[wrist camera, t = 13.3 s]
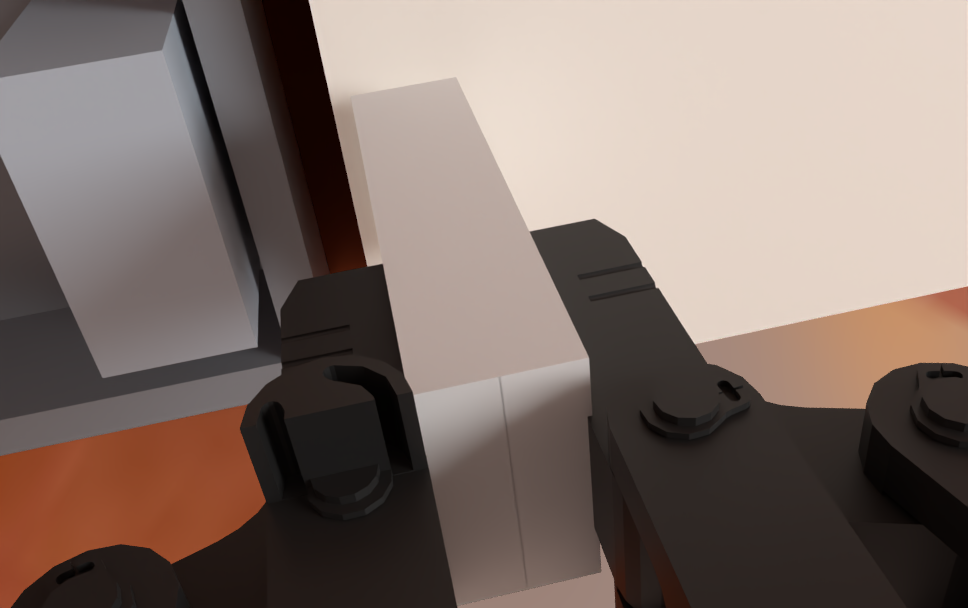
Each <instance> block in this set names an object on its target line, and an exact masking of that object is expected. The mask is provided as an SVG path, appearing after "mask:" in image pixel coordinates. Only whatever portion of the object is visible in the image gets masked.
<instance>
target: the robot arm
mask: <svg viewBox="0 0 968 608" xmlns="http://www.w3.org/2000/svg"><path fill="white" fill-rule="evenodd" d="M351 102H352V107H353V112H354V117H355V122H356V127H357V133H358V138H359V143H360V148H361V153H362V159H363V164H364V169H365V174H366V179H367V184H368V190H369V195H370V200H371V205H372V210H373V215H374V221H375V226H376V231H377V236H378V241H379V247H380V252H381V257H382V262H383V264H378V265H373V266H368V267H363V268H358V269H353V270H348V271H343V272H338V273H333V274H328V275H323V276H318V277H313V278H308V279H303V280H298V281H297V283H296V285H295V286H294V288H293V289H292V291H291V293H290V294H289V296H288V298H287V299H286V301H285V302H284V304H283V306H282V307H281V309H280V317H281V341H282V344H281V364H282V369H281V375H280V376H278V377H277V378H275V379H274V380H272V381H270V382H269V383H267V384H266V385H265V386H264V387H263V388H262V389H261V390H260V392H259V393H258V394H257V395H256V396H255V397H254V398H253V399H252V401H251V402H250V403H249V404H248V405H247V408H246V411H245V414H244V417H243V420H242V423H241V426H240V430H241V433H242V436H243V439H244V441H245V444H246V447H247V450H248V453H249V455H250V458H251V461H252V464H253V466H254V469H255V472H256V475H257V477H258V480H259V483H260V486H261V488H262V491H263V494H264V497H265V499H266V503H265V504H264V505H263V507H262V508H261V509H260V510H259V512H258V513H257V514H256V515H254V516H253V517H252V518H251V519H250V520H249V521H247V522H246V523H245V524H244V525H243V526H242V527H240V528H239V529H238V530H236V531H234V532H233V533H231V534H229V535H228V536H226V537H224V538H223V539H221V540H219V541H218V542H216V543H214V544H212V545H210V546H208V547H206V548H204V549H202V550H200V551H198V552H196V553H193V554H191V555H189V556H187V557H185V558H183V559H181V560H179V561H177V562H175V563H173V564H170V562H169V561H167V560H166V559H164V558H163V557H161V556H160V555H159V554H157V553H156V552H154V551H153V550H151V549H150V548H144V547H137V546H129V545H122V544H120V545H115V546H110V547H104V548H99V549H94V550H89V551H86V552H84V553H82V554H80V555H78V556H76V557H73V558H71V559H69V560H67V561H65V562H63V563H61V564H59V565H56V566H54V567H53V568H52V569H50V570H49V571H48V572H47V573H45V574H44V575H43V576H42V577H40V578H39V579H38V580H37V581H35V582H34V583H33V584H32V585H30V586H29V587H28V588H27V589H25V590H24V591H23V593H22V594H21V595H20V596H19V598H18V599H17V600H16V602H15V603H14V604H13V606H12V607H11V608H457V606H459V605H464V604H467V603H472V602H476V601H480V600H485V599H489V598H493V597H498V596H502V595H506V594H510V593H515V592H519V591H523V590H527V589H532V588H536V587H540V586H544V585H549V584H553V583H557V582H561V581H566V580H570V579H574V578H578V577H583V576H587V575H591V574H595V573H600V572H601V559H600V543H601V545H602V549H603V551H604V554H605V557H606V559H607V562H608V564H609V567H610V569H611V572H612V575H613V577H614V586H615V608H968V367H967V366H962V365H958V364H954V363H918V364H914V365H910V366H906V367H902V368H899V369H895V370H892V371H891V372H890V373H888V374H887V375H885V376H884V377H883V378H881V379H880V380H879V381H877V382H876V383H874V385H873V388H872V390H871V393H870V395H869V398H868V400H867V403H866V409H844V408H804V407H794V406H783V405H777V404H773V403H770V402H766V401H765V400H764V399H763V398H762V396H761V395H760V393H758V392H757V391H756V390H755V389H754V388H753V387H752V386H751V385H750V384H749V383H748V382H747V381H746V380H745V379H744V378H743V377H741V376H739V375H736V374H734V373H732V372H730V371H728V370H726V369H724V368H721V367H719V366H717V365H711V364H707V362H706V361H705V360H704V358H703V356H702V355H701V353H700V352H699V350H698V349H697V347H696V345H695V344H694V342H693V341H692V339H691V338H690V336H689V335H688V333H687V331H686V330H685V328H684V327H683V325H682V324H681V322H680V321H679V319H678V317H677V316H676V314H675V313H674V311H673V310H672V308H671V307H670V305H669V303H668V302H667V300H666V299H665V297H664V296H663V294H662V293H661V291H660V289H659V288H656V286H655V282H654V280H653V279H652V277H651V275H650V274H649V272H648V271H647V269H646V268H645V267H643V266H642V262H641V260H640V258H639V257H638V255H637V254H636V252H635V251H634V249H633V248H632V246H631V244H630V243H629V241H628V240H627V238H626V237H625V236H623V235H622V234H620V233H618V232H617V231H615V230H613V229H612V228H610V227H608V226H606V225H605V224H603V223H601V222H600V221H598V220H596V219H590V220H585V221H580V222H575V223H570V224H565V225H560V226H555V227H550V228H545V229H540V230H534V231H529V230H528V228H527V226H526V223H525V221H524V219H523V217H522V215H521V213H520V211H519V209H518V207H517V204H516V202H515V200H514V198H513V196H512V194H511V192H510V190H509V188H508V185H507V183H506V181H505V179H504V177H503V175H502V173H501V171H500V169H499V166H498V164H497V162H496V160H495V158H494V156H493V154H492V152H491V150H490V147H489V145H488V143H487V141H486V139H485V137H484V135H483V133H482V131H481V128H480V126H479V124H478V122H477V120H476V118H475V116H474V114H473V112H472V109H471V107H470V105H469V103H468V101H467V99H466V97H465V95H464V93H463V90H462V88H461V86H460V84H459V82H458V80H457V78H456V77H453V78H448V79H442V80H437V81H431V82H425V83H420V84H414V85H409V86H403V87H398V88H392V89H387V90H381V91H375V92H370V93H364V94H359V95H353V96H351Z"/></svg>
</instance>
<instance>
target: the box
mask: <svg viewBox="0 0 968 608" xmlns="http://www.w3.org/2000/svg"><path fill="white" fill-rule="evenodd" d="M30 1H31V0H0V40H1V39H2V38H3V37H4V35H5V34H6V33H7V31H8V30H9V29H10V27H11V26H12V25H13V24H14V22H15V21H16V20H17V18H18V17H19V16H20V14H21V13H22V12H23V11H24V9H25V8H26V7H27V5H28V4H29V3H30ZM182 1H183V4H184V8H185V11H186V14H187V18H188V21H189V24H190V28H191V31H192V34H193V38H194V41H195V44H196V48H197V51H198V54H199V58H200V61H201V64H202V68H203V71H204V74H205V78H206V81H207V84H208V88H209V91H210V94H211V98H212V101H213V104H214V108H215V111H216V114H217V118H218V121H219V124H220V128H221V131H222V134H223V138H224V141H225V144H226V148H227V151H228V154H229V158H230V161H231V164H232V168H233V171H234V174H235V178H236V181H237V184H238V188H239V191H240V194H241V198H242V201H243V204H244V208H245V211H246V214H247V218H248V221H249V224H250V228H251V231H252V234H253V238H254V241H255V244H256V248H257V251H258V254H259V303H258V347H255V348H250V349H245V350H240V351H235V352H230V353H225V354H220V355H215V356H210V357H205V358H200V359H195V360H190V361H185V362H180V363H175V364H170V365H166V366H161V367H156V368H151V369H146V370H141V371H136V372H131V373H126V374H121V375H116V376H111V377H106V378H102V376H101V374H100V372H99V369H98V367H97V365H96V363H95V361H94V358H93V356H92V354H91V352H90V350H89V348H88V345H87V343H86V341H85V339H84V337H83V334H82V332H81V330H80V328H79V326H78V324H77V321H76V319H75V317H74V315H73V313H72V310H71V308H70V306H69V304H68V302H67V300H66V297H65V295H64V293H63V291H62V289H61V286H60V284H59V282H58V280H57V278H56V275H55V273H54V271H53V269H52V267H51V265H50V262H49V260H48V258H47V256H46V254H45V251H44V249H43V247H42V245H41V243H40V241H39V238H38V236H37V234H36V232H35V230H34V227H33V225H32V223H31V221H30V219H29V217H28V214H27V212H26V210H25V208H24V206H23V203H22V201H21V199H20V197H19V195H18V193H17V190H16V188H15V186H14V184H13V182H12V179H11V177H10V175H9V173H8V171H7V169H6V166H5V164H4V162H3V160H2V158H1V155H0V456H1V455H6V454H11V453H15V452H20V451H25V450H30V449H35V448H39V447H44V446H49V445H54V444H59V443H63V442H68V441H73V440H78V439H83V438H87V437H92V436H97V435H102V434H107V433H111V432H116V431H121V430H126V429H131V428H135V427H140V426H145V425H150V424H155V423H159V422H164V421H169V420H174V419H179V418H183V417H188V416H193V415H198V414H202V413H207V412H212V411H217V410H222V409H226V408H231V407H236V406H241V405H246V404H249V403H250V402H251V401H252V399H253V398H254V397H255V396H256V395H257V394H258V393H259V392H260V390H261V389H262V388H263V387H264V386H265V385H266V384H267V383H269V382H270V381H272V380H274V379H275V378H277V377H278V376H280V375H281V369H282V364H281V344H282V341H281V317H280V309H281V307H282V306H283V304H284V302H285V301H286V299H287V298H288V296H289V294H290V293H291V291H292V289H293V288H294V286H295V285H296V283H297V281H298V280H303V279H308V278H313V277H318V276H323V275H328V274H330V272H329V268H328V264H327V260H326V256H325V252H324V248H323V244H322V240H321V236H320V232H319V228H318V224H317V220H316V216H315V212H314V208H313V204H312V200H311V196H310V192H309V188H308V184H307V180H306V176H305V172H304V168H303V164H302V160H301V156H300V152H299V148H298V144H297V140H296V135H295V131H294V127H293V123H292V119H291V115H290V111H289V107H288V103H287V99H286V95H285V91H284V87H283V83H282V79H281V75H280V71H279V67H278V63H277V59H276V55H275V51H274V47H273V43H272V39H271V35H270V31H269V27H268V23H267V19H266V15H265V11H264V7H263V3H262V0H182Z"/></svg>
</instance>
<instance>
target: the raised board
mask: <svg viewBox="0 0 968 608" xmlns="http://www.w3.org/2000/svg"><path fill="white" fill-rule="evenodd" d="M309 4H310V8H311V13H312V17H313V22H314V26H315V31H316V35H317V40H318V45H319V49H320V54H321V58H322V63H323V67H324V72H325V76H326V81H327V85H328V90H329V95H330V99H331V104H332V108H333V113H334V117H335V122H336V126H337V131H338V135H339V140H340V145H341V149H342V154H343V158H344V163H345V167H346V172H347V176H348V181H349V185H350V190H351V195H352V199H353V204H354V208H355V213H356V217H357V222H358V226H359V231H360V235H361V240H362V245H363V249H364V254H365V258H366V263H367V267H368V266H373V265H378V264H383V262H382V257H381V252H380V247H379V241H378V236H377V231H376V226H375V221H374V215H373V210H372V205H371V200H370V195H369V190H368V184H367V179H366V174H365V169H364V164H363V159H362V153H361V148H360V143H359V138H358V133H357V127H356V122H355V117H354V112H353V107H352V102H351V96H353V95H359V94H364V93H370V92H375V91H381V90H387V89H392V88H398V87H403V86H409V85H414V84H420V83H425V82H431V81H437V80H442V79H448V78H453V77H456V78H457V80H458V82H459V84H460V86H461V88H462V90H463V93H464V95H465V97H466V99H467V101H468V103H469V105H470V107H471V109H472V112H473V114H474V116H475V118H476V120H477V122H478V124H479V126H480V128H481V131H482V133H483V135H484V137H485V139H486V141H487V143H488V145H489V147H490V150H491V152H492V154H493V156H494V158H495V160H496V162H497V164H498V166H499V169H500V171H501V173H502V175H503V177H504V179H505V181H506V183H507V185H508V188H509V190H510V192H511V194H512V196H513V198H514V200H515V202H516V204H517V207H518V209H519V211H520V213H521V215H522V217H523V219H524V221H525V223H526V226H527V228H528V230H529V231H534V230H540V229H545V228H550V227H555V226H560V225H565V224H570V223H575V222H580V221H585V220H590V219H596V220H598V221H600V222H601V223H603V224H605V225H606V226H608V227H610V228H612V229H613V230H615V231H617V232H618V233H620V234H622V235H623V236H625V237H626V238H627V240H628V241H629V243H630V244H631V246H632V248H633V249H634V251H635V252H636V254H637V255H638V257H639V258H640V260H641V262H642V266H643V267H645V268H646V269H647V271H648V272H649V274H650V275H651V277H652V279H653V280H654V282H655V286H656V288H659V289H660V291H661V293H662V294H663V296H664V297H665V299H666V300H667V302H668V303H669V305H670V307H671V308H672V310H673V311H674V313H675V314H676V316H677V317H678V319H679V321H680V322H681V324H682V325H683V327H684V328H685V330H686V331H687V333H688V335H689V336H690V338H691V339H692V341H693V342H694V344H697V343H703V342H707V341H712V340H717V339H721V338H726V337H731V336H736V335H740V334H745V333H750V332H754V331H759V330H764V329H768V328H773V327H778V326H782V325H787V324H792V323H797V322H802V321H806V320H811V319H816V318H820V317H825V316H830V315H835V314H839V313H844V312H849V311H853V310H858V309H863V308H867V307H872V306H877V305H882V304H886V303H891V302H896V301H901V300H905V299H910V298H915V297H919V296H924V295H929V294H934V293H938V292H943V291H948V290H952V289H957V288H962V287H967V286H968V0H309Z"/></svg>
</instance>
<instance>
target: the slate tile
mask: <svg viewBox="0 0 968 608" xmlns="http://www.w3.org/2000/svg"><path fill="white" fill-rule="evenodd" d="M0 155H1V158H2V160H3V162H4V164H5V166H6V169H7V171H8V173H9V175H10V177H11V179H12V182H13V184H14V186H15V188H16V190H17V193H18V195H19V197H20V199H21V201H22V203H23V206H24V208H25V210H26V212H27V214H28V217H29V219H30V221H31V223H32V225H33V227H34V230H35V232H36V234H37V236H38V238H39V241H40V243H41V245H42V247H43V249H44V251H45V254H46V256H47V258H48V260H49V262H50V265H51V267H52V269H53V271H54V273H55V275H56V278H57V280H58V282H59V284H60V286H61V289H62V291H63V293H64V295H65V297H66V300H67V302H68V304H69V306H70V308H71V310H72V313H73V315H74V317H75V319H76V321H77V324H78V326H79V328H80V330H81V332H82V334H83V337H84V339H85V341H86V343H87V345H88V348H89V350H90V352H91V354H92V356H93V358H94V361H95V363H96V365H97V367H98V369H99V372H100V374H101V376H102V378H106V377H111V376H116V375H121V374H126V373H131V372H136V371H141V370H146V369H151V368H156V367H161V366H166V365H170V364H175V363H180V362H185V361H190V360H195V359H200V358H205V357H210V356H215V355H220V354H225V353H230V352H235V351H240V350H245V349H250V348H255V347H258V303H259V254H258V251H257V248H256V244H255V241H254V238H253V234H252V231H251V228H250V224H249V221H248V218H247V214H246V211H245V208H244V204H243V201H242V198H241V194H240V191H239V188H238V184H237V181H236V178H235V174H234V171H233V168H232V164H231V161H230V158H229V154H228V151H227V148H226V144H225V141H224V138H223V134H222V131H221V128H220V124H219V121H218V118H217V114H216V111H215V108H214V104H213V101H212V98H211V94H210V91H209V88H208V84H207V81H206V78H205V74H204V71H203V68H202V64H201V61H200V58H199V54H198V51H197V48H196V44H195V41H194V38H193V34H192V31H191V28H190V24H189V21H188V18H187V14H186V11H185V8H184V4H183V1H182V0H31V1H30V3H29V4H28V5H27V7H26V8H25V9H24V11H23V12H22V13H21V14H20V16H19V17H18V18H17V20H16V21H15V22H14V24H13V25H12V26H11V27H10V29H9V30H8V31H7V33H6V34H5V35H4V37H3V38H2V39H1V40H0Z"/></svg>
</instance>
